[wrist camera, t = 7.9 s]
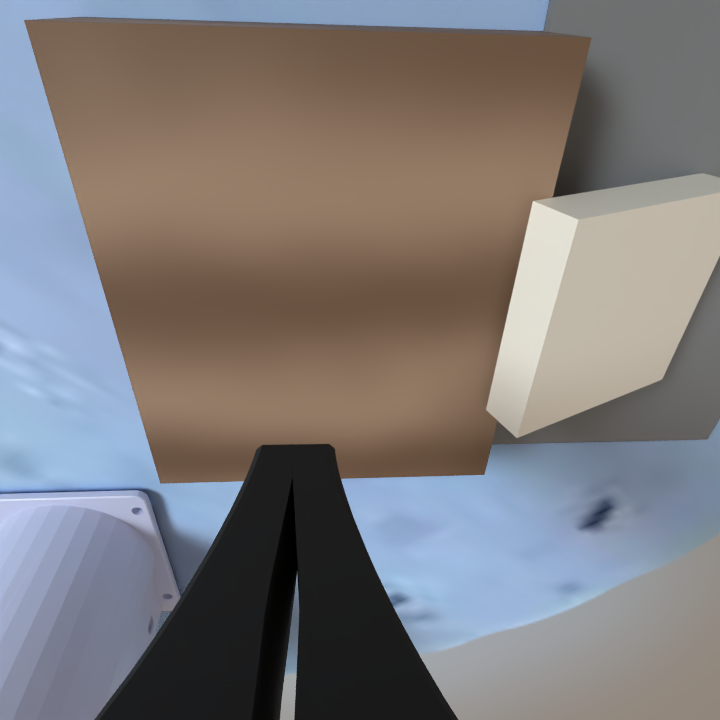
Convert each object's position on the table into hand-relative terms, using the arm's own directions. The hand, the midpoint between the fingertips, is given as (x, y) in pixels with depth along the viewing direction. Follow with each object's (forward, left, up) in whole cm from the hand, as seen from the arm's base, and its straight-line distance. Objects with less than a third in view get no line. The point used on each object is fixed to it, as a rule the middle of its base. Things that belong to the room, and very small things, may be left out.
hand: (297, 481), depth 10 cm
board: (0, -1, -9) cm, 9 cm away
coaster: (0, -9, -8) cm, 12 cm away
